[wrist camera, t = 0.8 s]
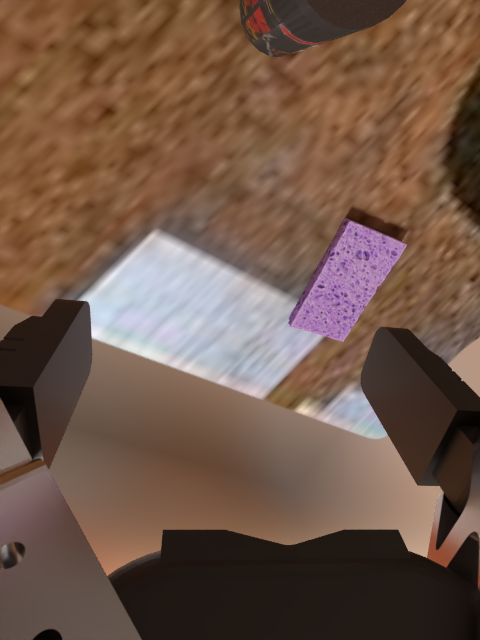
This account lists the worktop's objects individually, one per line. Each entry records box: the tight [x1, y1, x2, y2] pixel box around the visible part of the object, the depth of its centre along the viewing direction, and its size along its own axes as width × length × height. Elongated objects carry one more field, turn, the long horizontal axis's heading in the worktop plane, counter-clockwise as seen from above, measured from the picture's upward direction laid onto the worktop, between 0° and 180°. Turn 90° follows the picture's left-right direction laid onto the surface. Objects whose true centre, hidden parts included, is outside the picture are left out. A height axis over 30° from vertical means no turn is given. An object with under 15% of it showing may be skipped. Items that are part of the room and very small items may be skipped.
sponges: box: [288, 218, 407, 341], centre depth 40 cm, size 7×13×2 cm, turn 157°
